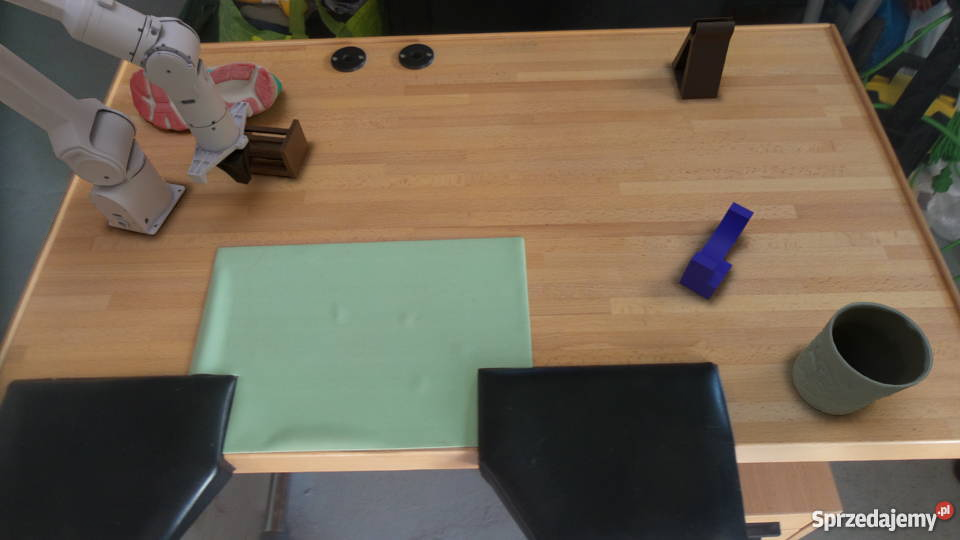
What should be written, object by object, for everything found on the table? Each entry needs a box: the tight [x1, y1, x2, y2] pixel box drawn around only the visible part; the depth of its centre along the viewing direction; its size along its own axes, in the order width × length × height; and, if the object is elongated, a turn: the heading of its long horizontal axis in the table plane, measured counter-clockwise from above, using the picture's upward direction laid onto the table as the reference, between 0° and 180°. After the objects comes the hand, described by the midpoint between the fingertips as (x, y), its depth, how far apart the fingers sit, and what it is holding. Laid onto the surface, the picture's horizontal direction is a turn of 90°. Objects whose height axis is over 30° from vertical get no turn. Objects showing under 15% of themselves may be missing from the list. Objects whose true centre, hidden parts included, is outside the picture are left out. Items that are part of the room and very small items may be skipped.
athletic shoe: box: [129, 61, 283, 131], centre depth 97 cm, size 27×9×12 cm
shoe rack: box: [243, 118, 310, 179], centre depth 91 cm, size 7×10×6 cm
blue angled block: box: [678, 201, 755, 301], centre depth 78 cm, size 12×4×6 cm, turn 141°
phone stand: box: [670, 16, 736, 99], centre depth 95 cm, size 9×6×12 cm, turn 1°
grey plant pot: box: [791, 301, 934, 416], centre depth 65 cm, size 10×10×12 cm
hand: (244, 180), depth 87 cm, fingers closed
